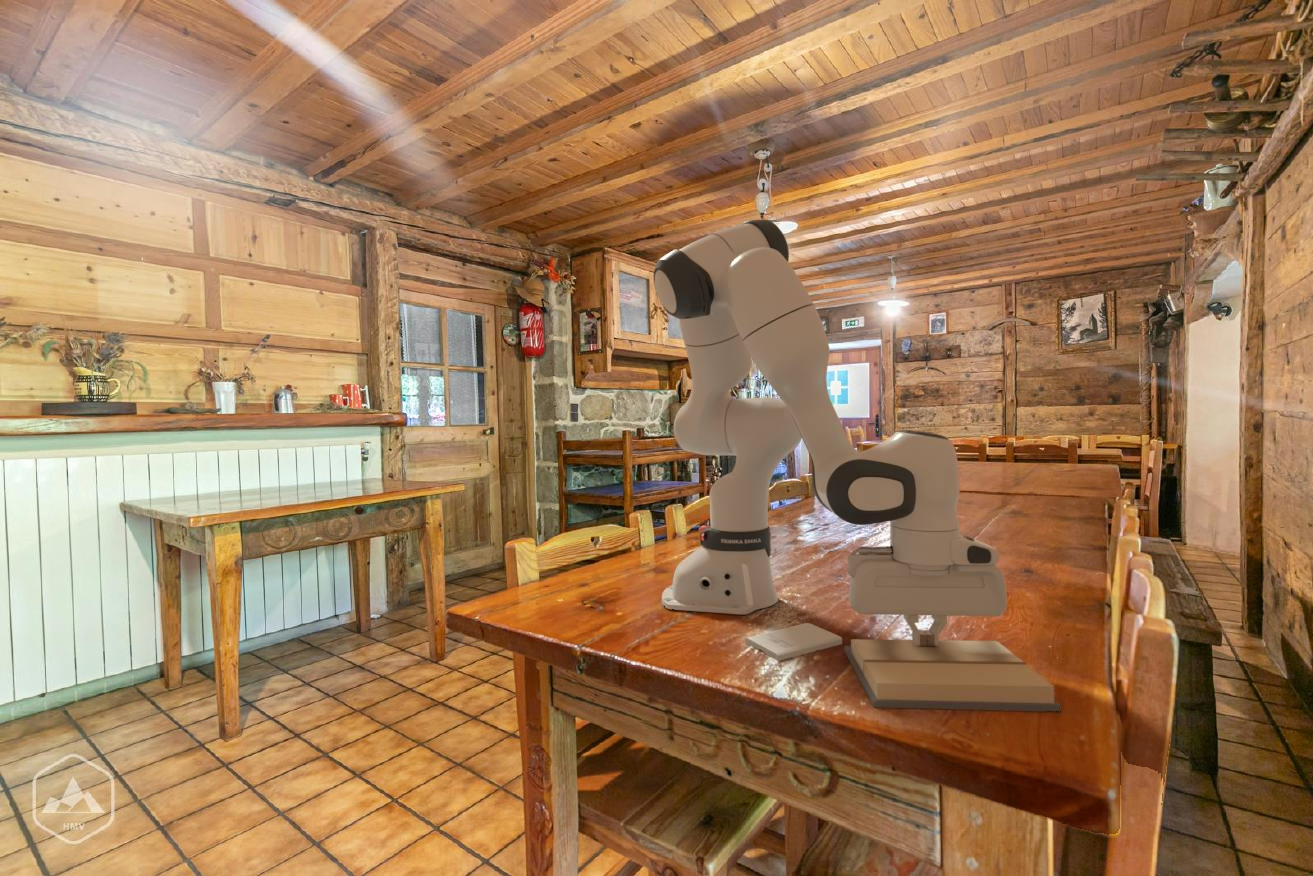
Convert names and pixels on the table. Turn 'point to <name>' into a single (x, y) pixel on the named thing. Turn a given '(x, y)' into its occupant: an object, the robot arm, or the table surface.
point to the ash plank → (930, 651)
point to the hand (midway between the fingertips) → (925, 644)
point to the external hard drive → (794, 641)
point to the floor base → (954, 685)
